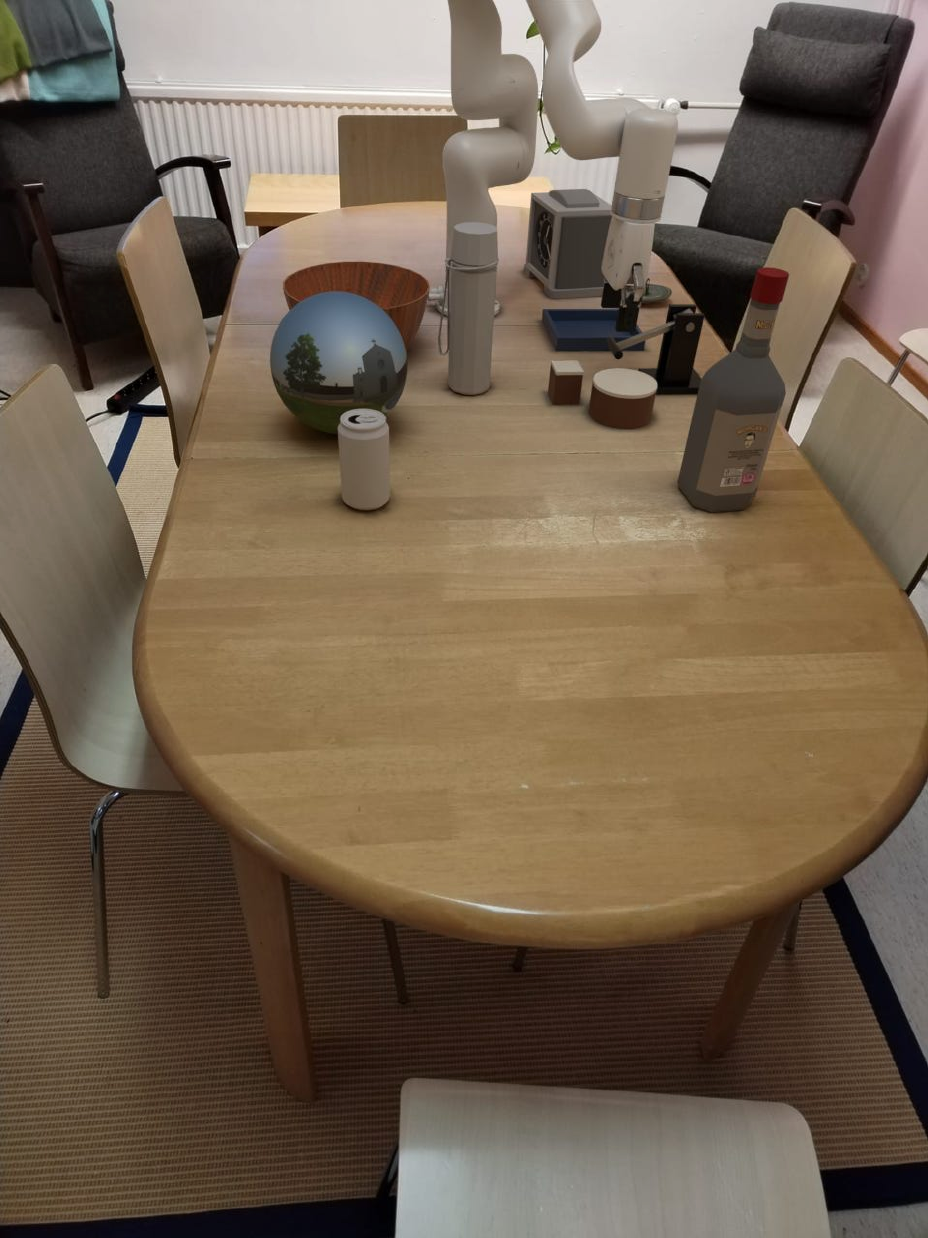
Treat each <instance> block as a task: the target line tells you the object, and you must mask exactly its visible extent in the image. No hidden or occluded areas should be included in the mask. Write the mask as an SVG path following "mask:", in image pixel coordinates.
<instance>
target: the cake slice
mask: <svg viewBox="0 0 928 1238" xmlns="http://www.w3.org/2000/svg"><path fill="white" fill-rule="evenodd" d="M583 379H584V370H583V368H582V366H581V364H580V362H579V361H578V360H551V361H550V369H549V378H548V388H547V395H548V397H549V399H550V402H551V404H552V406H553V405H554V406H555V405H557V406H560V405H561V406H562V405H580V401H581V395H582V386H583Z"/></svg>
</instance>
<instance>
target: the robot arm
mask: <svg viewBox="0 0 928 1238" xmlns="http://www.w3.org/2000/svg"><path fill="white" fill-rule="evenodd" d="M525 2H526V4H527V6H528V9H529V11H530V13H531V16H532V18H533V21H534V23H535V25H536V28H537V30H538V33H539V35H540V37H541V40H542V42H543V44H544V47H545V50H546V52H547V58H546V60H545V64H544V67H543V73H542V84H541V85H542V88H541V89H542V90H541V91H542V93H541V94H542V104H543V108H544V113H545V115H546V117H547V120H548V123H549V125H550V128H551V130H552V132H553V134H554V136H555V139H556V140H557V143H558V144H559V146H560V148H561V149H562V151H563V152H564V153H565V154H566V155H567V156H568V157H570V158H571V159H573V160H576V161H590V160H597V159H606V158H618V163H617V169H616V174H615V180H614V181H615V182H614V188H613V189H614V190H613V195H612V200H611V201H612V203H611V205H612V207H611V213H610V214H611V216H612V219H611V223H610V227H609V231H608V236H607V241H606V246H605V251H604V256H603V261H602V267H601V269H602V273H603V275H604V276H605V282H608V283H604V288H603V294H602V296H601V300H600V307H601V309H618V315H617V321H616V326H615V330H616V331H617V332H634V331H635V330H636V325H638V320H639V314H640V308H641V307H642V303H641V301H642V299H643V298H642V297H643V296H642V295H643V292H644V290H645V284H646V280H647V279H648V275H649V271H650V270H649V269H650V264H651V259H652V250H653V243H654V238H655V237H654V236H655V227H656V226H655V225H656V223H658V222H660V220H661V219H662V213H663V209H664V204H665V203H664V202H665V197H666V192H667V186H668V181H669V178H670V177H669V176H670V171H671V166H672V161H673V155H674V151H675V147H676V146H675V145H676V140H677V135H678V129H679V120H678V117H677V116H676V115H675V114H674V113H672V112H670V111H667V110H663V109H658V108H652V107H651V106H648V105H647V104H645V103H643V102H642V101H640V100H639V99H636V98H633V97H618V98H617V97H616V98H601V99H589V100H588V99H586V97H585V96H584V92H583V91H582V89H581V86H580V84H579V82H578V79H577V76H576V72H575V65H574V63H575V62H577V61H578V60H580V59H581V58H582V57H584V56H585V55H586V54H587V53H588V52H589V51H590V50H591V49H592V48H593V47H594V45H595V44H596V42H597V41H598V39H599V37H600V35H601V32H602V20H601V17H600V15H599V11H598V10H597V8H596V5H595V3H594V1H593V0H525ZM447 6H448V11H449V19H450V98H451V104H452V108H453V111H454V113H455V114H456V115H457V117H458V118H461V119H463V120H467V121H485V120H498V126H495V127H493V126H492V127H480V128H469V129H465V130H460V131H458V132H456V133H454V134H453V135H451V136H450V137H449V138H448V139H447V141H446V142H445V143H444V146H443V149H442V155H441V157H442V158H441V160H442V170H443V171H442V172H443V176H444V185H445V196H446V197H445V198H446V236H445V260H446V259H451V252H452V243H453V235H454V228H455V225H457V224H460V223H467V222H479V223H486V224H490V225H493V226H495V227H496V228H497V229H498V212H497V208H496V206H495V203H494V201H493V199H492V197H491V195H490V193H489V190H490V189H493V188H496V187H504V186H510V185H516V184H521V183H522V182H525V180H526V179H527V178H528V177H529V176H530V174H531V173H532V170H533V168H534V164H535V157H536V147H537V146H536V145H537V127H538V110H539V84H538V78H537V74H536V70H535V68H534V66H533V64H532V63H531V61H530V60H529V59H527V58H526V57H525V56H523V55H521V54H518V53H502V39H503V38H502V34H503V32H502V31H503V26H502V21H501V16H500V13H499V11H498V8H497V6H496V3H495V2H494V0H447ZM451 266H452V263H451ZM446 274H447V270H446V269H445V277H444V279H445V280H444V281H442V282H441V285H438V286H437V287H431V286H430V290H429V295H428V302H436V301H437V302H436V309H437V311H438V312H439V313H440V314H441V312H442V304H443V297H444V289H445V282H446ZM447 292H448V281H447V288H446V296H445V304H444V312H443V316H446V317H447ZM449 292H450V295H451V269H450V270H449ZM627 292H633V293H631V294H630V295H629V296H628V298H627ZM500 311H501V304H500V302H499V301H498V300H497V299H495V309H494V317H495V316H497V315H498V314H499V313H500Z"/></svg>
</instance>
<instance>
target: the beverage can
mask: <svg viewBox="0 0 928 1238" xmlns="http://www.w3.org/2000/svg"><path fill="white" fill-rule="evenodd" d="M337 441H338V456H339V473H340V488H341V489H340V490H341V492H340V493H341V498H342V501H343V502H344V503H345V504H346V505H347V506H349V507H351V508H353V509H355V510H359V511H372V510H373V511H374V510H377V509H380V508H381V507H383V506H384V505H385V504H386V503H387V502H389V500H390V498H391V473H390V472H391V470H390V469H391V467H390V462H391V461H390V426H389V424H388V422H387V416H386V417H385V416H384V414H382V413H381V412H379V411H376V410H372V409H354V410H350V411H347V412H345V413H344V414H343V415H342V416H341V418H340V424H339V425H338V434H337Z"/></svg>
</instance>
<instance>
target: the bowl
mask: <svg viewBox="0 0 928 1238" xmlns="http://www.w3.org/2000/svg"><path fill="white" fill-rule="evenodd" d="M430 287H431V286H430V283H429V279H427V278H425V276H423V275H422V274H420V273H418V272H416V271H414V270H412V269H410V268H406V267H403V266H399V265H395V264H389V263H384V262H376V261H375V262H374V261H336V262H325V263H321V264H315V265H310V266H307V267H305V268H302V269H299V270H296V271H295V272H292V273H291V274H289V275H287V277H286V278H284V280H283V282H282V290H283V295H284V297H285V298H284V299H285V301H286V305H287V307H288V312H289V311H290V310H291V309H292V308H293V307H294V306H295V305H297V304H298V303H300V302H301V301H303V300H304V299H306V298H308V297H311V296H313V295H316V294H319V293H324V292H332V291H340V292H348V293H352V294H356V295H359V296H362V297H364V298H366V299H368V300H370V301H371V302H373V303H375V304H376V305H377V306H379V307H380V308H381V309H382V310H383V311H384V312H385V313H386V314H387V315H388V316H389V317H390V318H391V319H392V321H393V322H394V324H395V325H396V327H397V328H398V330H399V332H400V334H401V337H402V339H403V342H404V345H405V349H406V352H407V351H408V350H409V349H410V348H411V346H412V345H413V343H414V342H415V339H416V338H417V337H416V336H417V334H418V332H419V330H420V327H421V324H422V321H423V319H424V315H425V312H426V308H427V305H428V301H429V298H428V295H429V290H430Z"/></svg>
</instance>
